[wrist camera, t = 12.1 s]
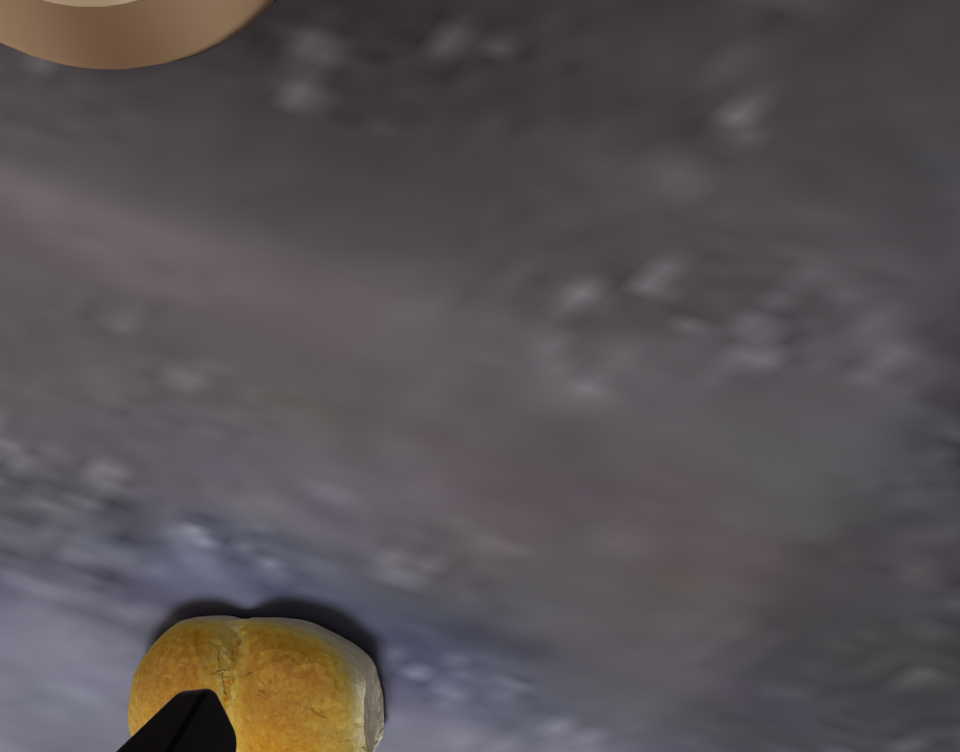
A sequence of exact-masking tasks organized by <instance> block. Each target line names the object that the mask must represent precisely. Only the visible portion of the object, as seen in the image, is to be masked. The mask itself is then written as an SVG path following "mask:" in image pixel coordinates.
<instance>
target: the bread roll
mask: <svg viewBox="0 0 960 752" xmlns="http://www.w3.org/2000/svg"><path fill="white" fill-rule="evenodd" d="M206 688H207V689H211V690H213V691H214V692H215V693H216V694H217V696H218V698H219V700H220V702H221V704H222V706H223V708H224V710H225V712H226V714H227V716H228V718H229V720H230V722H231V724H232V726H233V728H234V730H235V734H236V740H237V749H236V752H375V750H376V748H377V746H378V745H379V743H380V740H381V739H382V738H383V737H384V705H383V694H382V689H381V686H380V680H379V677H378V674H377V669H376V667H375V665H374V662H373V660H372V659H371V658H370V656H369V655H368V654H366V653H365V652H364V651H363V650H362V649H361V648H359V647H358V646H357V645H355V644H354V643H352V642H351V641H349V640H347V639H345V638H343V637H341V636H339V635H338V634H336V633H334V632H332V631H330V630H327V629H325V628H323V627H321V626H319V625H317V624H315V623H312V622H309V621H305V620H301V619H292V618H281V617H268V618H260V617H253V618H249V619H240V618H237V617H234V616H227V615H218V616H202V617H195V618H190V619H186V620H182V621H179V622H178V623H176V624H175V625H174V626H172V627H171V628H169V629H168V630H167V631H166V632H165V633H164V634H163V635H162V636H161V637H160V638H159V639H158V640H157V641H156V642H155V643H154V644H153V645H152V647H151V648H150V649H149V650H148V652H147V653H146V655H145V656H144V657H143V659H142V661H141V662H140V664H139V666H138V668H137V670H136V672H135V674H134V678H133V683H132V687H131V692H130V699H129V708H128V722H129V729H130V734H131V737H132V736H133V735H134V734H135V733H136V732H137V731H138V730H139V729H140V728H141V727H142V726H143V725H145V724H146V723H147V722H148V721H149V720H150V719H151V718H152V717H153V716H154V715H155V714H156V713H157V712H158V711H159V710H160V709H161V708H162V707H163V706H164V705H165V704H166V703H167V702H168V701H170V700H171V699H172V698H173V697H174V696H175V695H176V694H178V693H180V692H182V691H187V690H197V689H206Z"/></svg>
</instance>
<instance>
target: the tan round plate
mask: <svg viewBox="0 0 960 752" xmlns="http://www.w3.org/2000/svg"><path fill="white" fill-rule="evenodd" d="M274 1H275V0H0V43H3V44H5V45H7V46H10V47H12V48H15V49H17V50H19V51H22V52H24V53H26V54H29V55H31V56H35V57H38V58H42V59H45V60H49V61H52V62H56V63H59V64H63V65H70V66H76V67H83V68H90V69H129V68H136V67H143V66H150V65H157V64H163V63H168V62H174V61H178V60H181V59H184V58H188V57H191V56H194V55H198V54H201V53H203V52H205V51H207V50H209V49H212V48H214V47H216V46H218V45H220V44H222V43H224V42H226V41H228V40H229V39H231V38H232V37H233V36H235V35H236V34H238V33H239V32H241V31H242V30H243V29H245V28H246V27H248V26H249V25H251V24H252V23H253V22H254V21H255V20H256V19H257V18H258V17H259V16H260V15H261V14H262V13H263V12H264V11H265V10H266V9H267V8H268V7H269V6H270V5H271V4H272V3H273V2H274Z"/></svg>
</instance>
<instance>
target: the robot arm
mask: <svg viewBox="0 0 960 752" xmlns="http://www.w3.org/2000/svg"><path fill="white" fill-rule="evenodd" d="M236 749H237V740H236V734H235V730H234V728H233V726H232V724H231V722H230V720H229V718H228V716H227V714H226V712H225V710H224V708H223V706H222V704H221V702H220V700H219V698H218V696H217V694H216V693H215V692H214V691H213V690H211V689H207V688H206V689H197V690H187V691H182V692H180V693H178V694H176V695H175V696H174V697H173V698H172V699H171V700H170V701H168V702H167V703H166V704H165V705H164V706H163V707H162V708H161V709H160V710H159V711H158V712H157V713H156V714H155V715H154V716H153V717H152V718H151V719H150V720H149V721H148V722H147V723H146V724H145V725H143V726H142V727H141V728H140V729H139V730H138V731H137V732H136V733H135V734H134V735H133V736H132V737H131V738H130V739H129V740H128V741H127V742H126V743H125V744H124V745H123V746H122V747H121V748H120V749H118V750H117V751H116V752H236Z"/></svg>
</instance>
